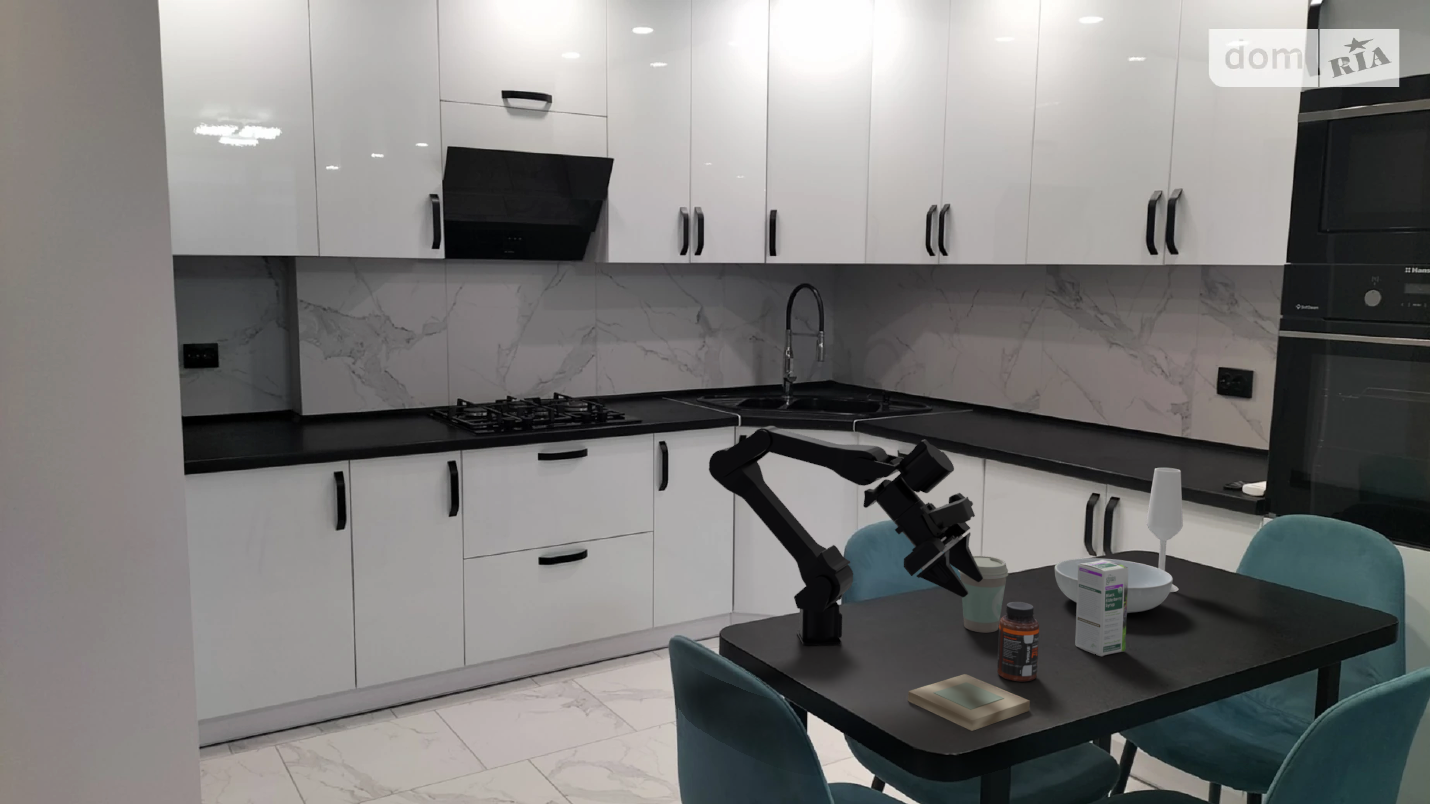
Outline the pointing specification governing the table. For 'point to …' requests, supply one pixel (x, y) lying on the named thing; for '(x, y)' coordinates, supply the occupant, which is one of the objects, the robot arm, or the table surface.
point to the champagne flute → (1165, 509)
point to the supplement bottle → (1018, 643)
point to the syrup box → (1101, 607)
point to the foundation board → (968, 701)
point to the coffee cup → (984, 595)
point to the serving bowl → (1143, 582)
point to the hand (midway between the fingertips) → (973, 587)
